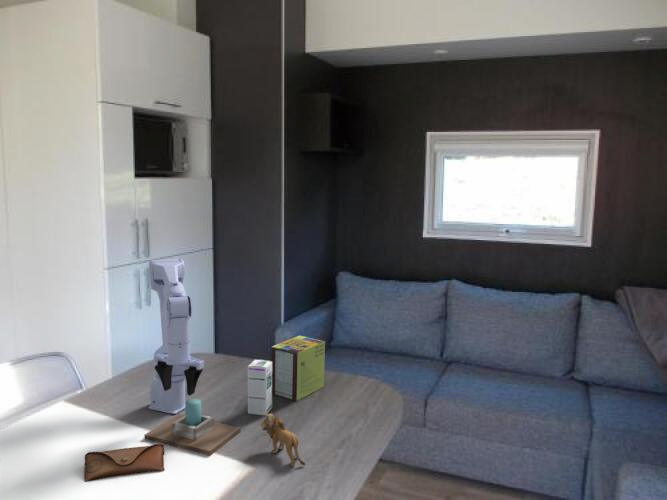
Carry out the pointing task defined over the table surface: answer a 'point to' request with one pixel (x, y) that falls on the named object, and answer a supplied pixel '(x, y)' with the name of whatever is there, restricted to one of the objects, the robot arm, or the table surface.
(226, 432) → the socket board
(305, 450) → the table surface
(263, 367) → the syrup box
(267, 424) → the lion figurine
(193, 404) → the peg
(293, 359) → the protein box
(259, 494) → the table surface
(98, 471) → the sunglasses case
